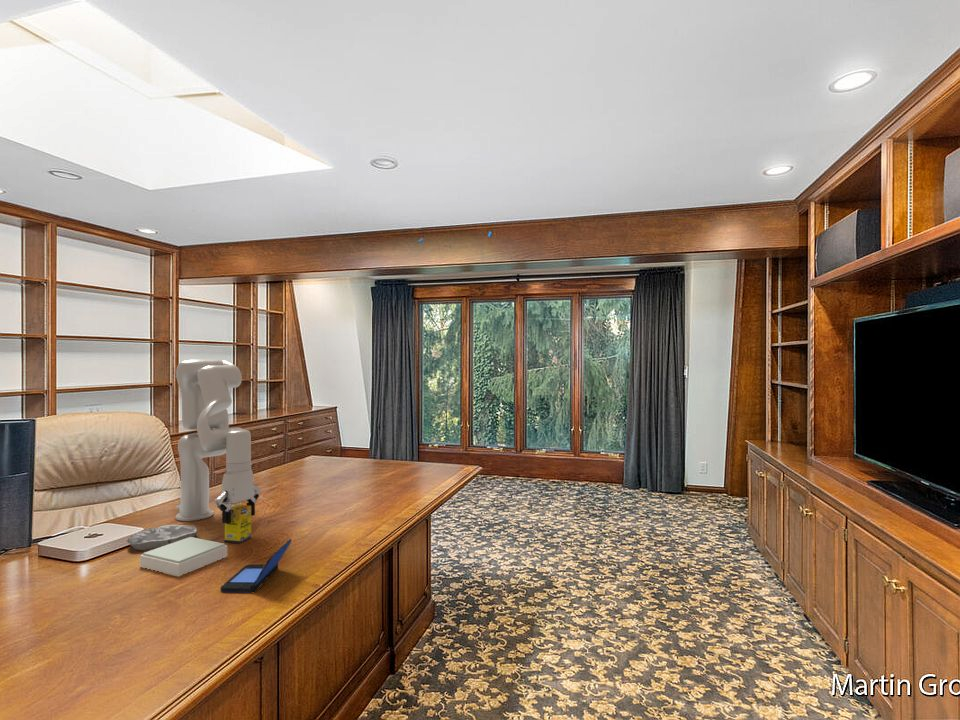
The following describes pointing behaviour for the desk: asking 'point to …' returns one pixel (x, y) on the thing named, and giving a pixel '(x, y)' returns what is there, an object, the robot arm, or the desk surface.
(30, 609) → the desk surface
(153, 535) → the brain slice
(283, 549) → the handheld game console
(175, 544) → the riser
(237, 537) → the supplement box
